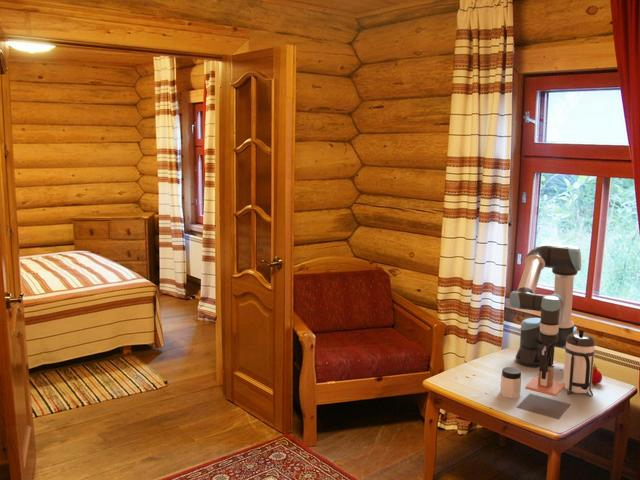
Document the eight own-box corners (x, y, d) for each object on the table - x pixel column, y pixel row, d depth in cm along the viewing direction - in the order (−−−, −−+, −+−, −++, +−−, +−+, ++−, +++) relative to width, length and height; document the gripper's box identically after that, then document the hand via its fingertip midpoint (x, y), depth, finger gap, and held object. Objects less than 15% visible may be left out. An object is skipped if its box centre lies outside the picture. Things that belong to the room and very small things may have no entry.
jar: (508, 400, 267) (510, 375, 265) (496, 393, 274) (497, 368, 272) (524, 396, 271) (525, 372, 268) (511, 390, 278) (512, 365, 276)
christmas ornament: (584, 379, 289) (585, 360, 288) (600, 381, 287) (601, 361, 286) (586, 385, 283) (588, 365, 281) (602, 387, 281) (604, 367, 279)
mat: (529, 394, 273) (529, 393, 273) (570, 405, 262) (570, 404, 262) (516, 408, 259) (516, 407, 259) (558, 420, 248) (558, 419, 248)
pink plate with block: (534, 378, 268) (536, 359, 266) (564, 386, 260) (566, 366, 259) (525, 388, 258) (526, 368, 256) (555, 396, 250) (557, 376, 249)
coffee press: (551, 390, 278) (555, 328, 272) (571, 382, 287) (575, 322, 281) (586, 403, 264) (591, 339, 258) (605, 394, 273) (611, 332, 267)
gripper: (546, 325, 263) (542, 374, 268) (533, 336, 250) (530, 388, 254) (563, 328, 259) (560, 379, 263) (551, 339, 246) (548, 392, 250)
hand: (545, 383), depth 259 cm, fingers closed on pink plate with block, 4 cm apart
